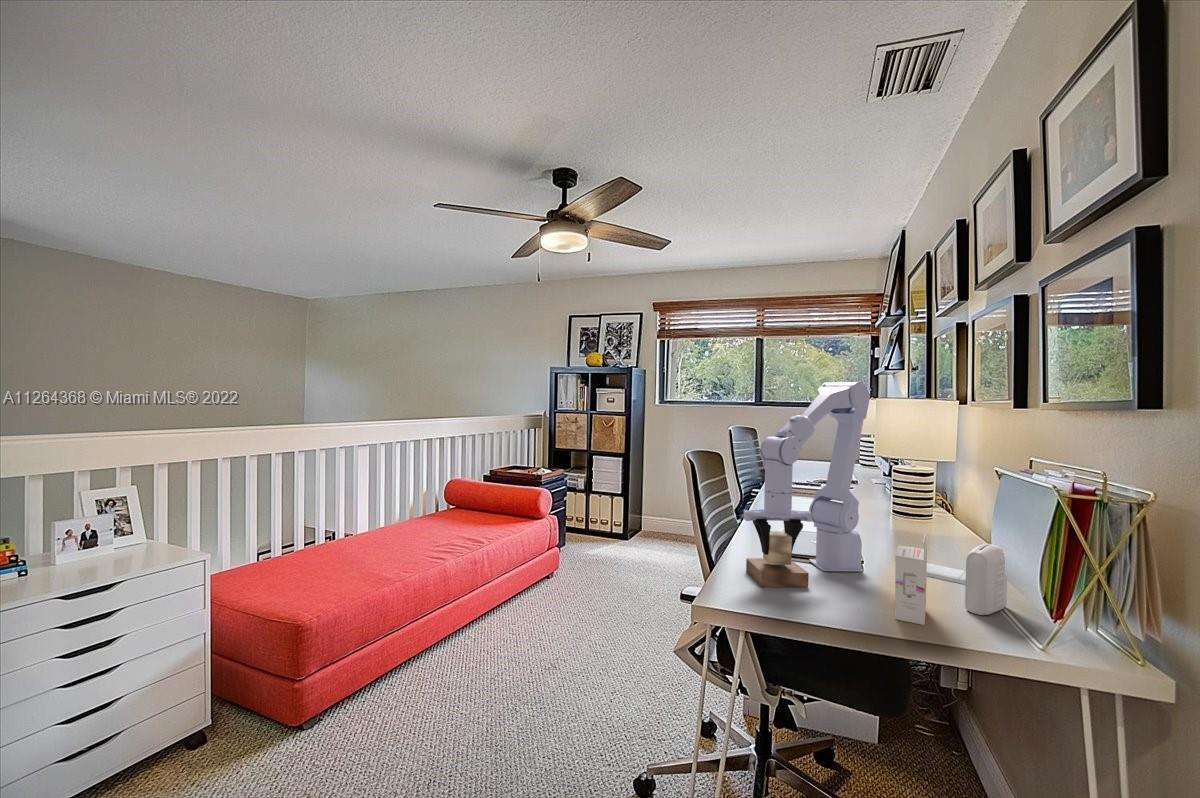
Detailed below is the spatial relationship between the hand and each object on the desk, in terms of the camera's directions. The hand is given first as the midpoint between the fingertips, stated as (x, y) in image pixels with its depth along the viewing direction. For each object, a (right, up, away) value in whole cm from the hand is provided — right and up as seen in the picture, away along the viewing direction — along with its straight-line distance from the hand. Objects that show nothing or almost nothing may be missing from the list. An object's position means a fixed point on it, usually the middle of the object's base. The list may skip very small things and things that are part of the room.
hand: (776, 553), depth 117 cm
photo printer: (+36, -7, -14) cm, 39 cm away
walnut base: (0, -6, 0) cm, 6 cm away
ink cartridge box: (+19, -6, -18) cm, 27 cm away
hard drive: (+39, -7, +7) cm, 41 cm away
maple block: (0, -2, 0) cm, 2 cm away
